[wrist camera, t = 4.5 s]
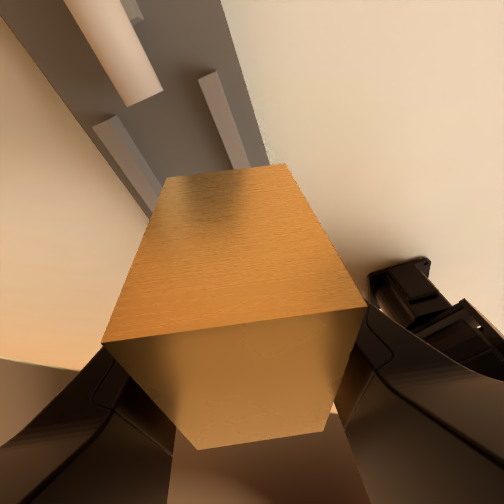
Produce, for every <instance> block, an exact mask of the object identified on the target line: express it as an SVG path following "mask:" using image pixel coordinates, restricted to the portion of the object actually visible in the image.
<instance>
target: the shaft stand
mask: <svg viewBox="0 0 504 504" xmlns="http://www.w3.org/2000/svg"><path fill="white" fill-rule="evenodd" d="M0 15H1V17H2V18H3V19H4V21H5V22H6V23H7V25H8V26H9V28H10V29H11V30H12V32H13V33H14V34H15V36H16V37H17V39H18V40H19V41H20V43H21V44H22V45H23V47H24V48H25V49H26V51H27V52H28V54H29V55H30V56H31V58H32V59H33V60H34V62H35V63H36V65H37V66H38V67H39V69H40V70H41V71H42V73H43V74H44V76H45V77H46V78H47V80H48V81H49V82H50V84H51V85H52V87H53V88H54V89H55V91H56V92H57V93H58V95H59V96H60V97H61V99H62V100H63V102H64V103H65V104H66V106H67V107H68V108H69V110H70V111H71V113H72V114H73V115H74V117H75V118H76V119H77V121H78V122H79V124H80V125H81V126H82V128H83V129H84V130H85V132H86V133H87V134H88V136H89V137H90V139H91V140H92V141H93V143H94V144H95V145H96V147H97V148H98V150H99V151H100V152H101V154H102V155H103V156H104V158H105V159H106V161H107V162H108V163H109V165H110V166H111V167H112V169H113V170H114V172H115V173H116V174H117V176H118V177H119V178H120V180H121V181H122V182H123V184H124V185H125V187H126V188H127V189H128V191H129V192H130V193H131V195H132V196H133V198H134V199H135V200H136V202H137V203H138V204H139V206H140V207H141V209H142V210H143V211H144V213H145V214H146V215H147V217H148V218H149V219H150V218H151V216H152V213H153V211H154V208H155V206H156V203H157V201H158V198H159V196H160V193H161V191H162V188H163V186H164V183H165V181H166V178H169V177H177V176H186V175H194V174H202V173H211V172H219V171H228V170H236V169H244V168H253V167H261V166H270V164H269V160H268V157H267V154H266V150H265V147H264V144H263V141H262V137H261V134H260V131H259V127H258V124H257V121H256V117H255V114H254V111H253V107H252V104H251V101H250V97H249V94H248V91H247V87H246V84H245V81H244V78H243V74H242V71H241V68H240V64H239V61H238V58H237V54H236V51H235V48H234V44H233V41H232V38H231V34H230V31H229V28H228V24H227V21H226V18H225V14H224V11H223V8H222V5H221V1H220V0H0Z"/></svg>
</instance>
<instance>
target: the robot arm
mask: <svg viewBox="0 0 504 504" xmlns="http://www.w3.org/2000/svg"><path fill="white" fill-rule="evenodd" d="M430 265H431V261H430V260H429V259H428V258H422V259H419V260H415V261H412V262H409V263H405V264H402V265H398V266H395V267H391V268H388V269H385V270H381V271H378V272H374V273H371V274H369V275H368V293H369V301H368V300H366V299H365V298H364V297H363V299H364V301H365V302H366V304H367V306H368V307H367V310H366V313H365V315H364V318H363V321H362V324H361V326H360V329H359V332H358V335H357V338H356V340H355V343H354V346H353V349H352V352H351V354H350V357H349V360H348V363H347V365H346V368H345V371H344V374H343V377H342V379H341V382H340V385H339V388H338V390H337V393H336V396H335V399H334V404H335V406H336V409H337V412H338V414H339V417H340V420H341V423H342V425H343V428H344V429H345V434H346V437H347V439H348V442H349V445H350V447H351V450H352V453H353V456H354V458H355V461H356V464H357V466H358V469H359V472H360V475H361V477H362V480H363V483H364V485H365V488H366V491H367V494H368V496H369V499H370V502H371V504H504V335H503V334H502V333H501V332H500V331H499V330H498V329H497V328H496V327H495V326H494V325H493V324H492V323H491V322H489V321H488V320H487V319H486V318H485V317H484V316H483V315H482V314H481V313H480V312H479V311H478V310H477V309H476V308H475V307H474V306H472V305H471V304H470V303H469V302H468V301H467V300H466V299H465V298H464V299H462V300H460V301H459V303H457V304H456V305H454V306H452V305H451V304H450V303H449V302H448V301H447V299H446V298H445V297H444V296H443V295H442V294H441V293H440V292H439V290H438V289H437V288H436V287H435V286H434V285H433V283H432V282H431V281H430V280H429V279H428V276H429V270H430ZM379 309H382V311H383V312H382V311H380V310H379ZM478 326H481V327H480V328H477V327H478ZM175 434H176V426H175V425H174V423H173V422H172V421H171V420H170V419H169V418H168V417H167V416H166V415H165V413H164V412H163V411H162V410H161V409H160V408H159V407H158V406H157V405H156V404H155V402H154V401H153V400H152V399H151V398H150V397H149V396H148V395H147V394H146V392H145V391H144V390H143V389H142V388H141V387H140V386H139V385H138V384H137V383H136V381H135V380H134V379H133V378H132V377H131V376H130V375H129V374H128V373H127V372H126V370H125V369H124V368H123V367H122V366H121V365H120V364H119V363H118V362H117V360H116V359H115V358H114V357H113V356H112V355H111V354H110V353H109V352H108V351H107V349H106V348H105V347H104V346H103V347H102V348H101V349H100V350H99V351H98V352H97V353H96V355H95V356H94V357H93V358H92V359H91V360H90V361H89V362H88V364H87V365H86V366H85V367H84V368H83V369H82V370H81V371H80V372H79V373H78V374H77V375H76V376H75V377H74V378H73V379H72V380H71V381H70V382H69V383H68V384H67V385H66V386H65V387H64V388H63V390H61V391H60V392H59V394H57V395H56V397H54V398H53V400H52V401H51V402H50V403H49V404H48V405H47V406H46V407H45V408H44V409H43V410H42V411H41V412H40V413H39V414H38V415H37V416H36V417H35V418H34V419H33V420H32V421H31V422H30V423H29V424H28V425H27V426H25V427H24V428H23V429H22V430H21V431H20V432H19V433H18V434H16V435H15V436H14V437H13V438H11V439H10V440H9V441H8V442H6V443H5V444H3V445H2V446H1V447H0V504H167V497H168V489H169V482H170V473H171V466H172V458H173V457H172V455H173V448H174V441H175Z"/></svg>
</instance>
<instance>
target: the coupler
mask: <svg viewBox="0 0 504 504" xmlns="http://www.w3.org/2000/svg"><path fill="white" fill-rule="evenodd" d="M367 307H368V306H367V304H366V302H365V301H364V299H363V297H362V295H361V294H360V292H359V290H358V288H357V287H356V285H355V283H354V282H353V280H352V278H351V276H350V275H349V273H348V271H347V269H346V268H345V266H344V264H343V263H342V261H341V259H340V257H339V256H338V254H337V252H336V250H335V249H334V247H333V245H332V244H331V242H330V240H329V238H328V237H327V235H326V233H325V231H324V230H323V228H322V226H321V225H320V223H319V221H318V219H317V218H316V216H315V214H314V212H313V211H312V209H311V207H310V206H309V204H308V202H307V200H306V199H305V197H304V195H303V193H302V192H301V190H300V188H299V187H298V185H297V183H296V181H295V180H294V178H293V176H292V174H291V173H290V171H289V169H288V168H287V166H286V164H278V165H270V166H261V167H253V168H244V169H236V170H228V171H219V172H211V173H202V174H194V175H186V176H177V177H169V178H166V181H165V183H164V186H163V188H162V191H161V193H160V196H159V198H158V201H157V203H156V206H155V208H154V211H153V213H152V216H151V218H150V221H149V223H148V226H147V228H146V231H145V233H144V236H143V238H142V241H141V243H140V246H139V248H138V251H137V253H136V256H135V258H134V261H133V263H132V266H131V268H130V271H129V273H128V276H127V278H126V281H125V283H124V286H123V288H122V291H121V293H120V296H119V298H118V301H117V303H116V306H115V308H114V311H113V313H112V316H111V318H110V321H109V323H108V326H107V328H106V331H105V333H104V336H103V338H102V341H101V344H102V345H103V346H104V347H105V348H106V349H107V351H108V352H109V353H110V354H111V355H112V356H113V357H114V358H115V359H116V360H117V362H118V363H119V364H120V365H121V366H122V367H123V368H124V369H125V370H126V372H127V373H128V374H129V375H130V376H131V377H132V378H133V379H134V380H135V381H136V383H137V384H138V385H139V386H140V387H141V388H142V389H143V390H144V391H145V392H146V394H147V395H148V396H149V397H150V398H151V399H152V400H153V401H154V402H155V404H156V405H157V406H158V407H159V408H160V409H161V410H162V411H163V412H164V413H165V415H166V416H167V417H168V418H169V419H170V420H171V421H172V422H173V423H174V425H175V426H176V427H177V428H178V429H179V430H180V431H181V432H182V433H183V434H184V436H185V437H186V438H187V439H188V440H189V441H190V442H191V443H192V444H193V445H194V447H195V448H196V449H197V450H200V449H207V448H214V447H220V446H227V445H233V444H240V443H246V442H254V441H260V440H267V439H273V438H280V437H287V436H293V435H300V434H306V433H313V432H320V431H323V429H324V427H325V424H326V421H327V418H328V415H329V413H330V410H331V407H332V404H333V402H334V399H335V396H336V393H337V390H338V388H339V385H340V382H341V379H342V377H343V374H344V371H345V368H346V365H347V363H348V360H349V357H350V354H351V352H352V349H353V346H354V343H355V340H356V338H357V335H358V332H359V329H360V326H361V324H362V321H363V318H364V315H365V313H366V310H367Z"/></svg>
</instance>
